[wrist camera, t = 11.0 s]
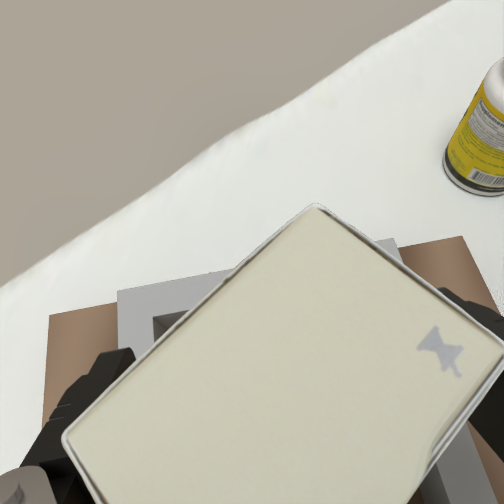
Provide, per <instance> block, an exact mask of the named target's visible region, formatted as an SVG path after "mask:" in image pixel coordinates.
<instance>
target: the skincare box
mask: <svg viewBox="0 0 504 504" xmlns="http://www.w3.org/2000/svg"><path fill="white" fill-rule="evenodd" d="M503 370H504V341H503V340H501V339H500V338H499V337H498V336H496V335H495V334H494V333H493V332H491V331H490V330H488V329H487V328H485V327H484V326H483V325H481V324H480V323H479V322H477V321H476V320H475V319H474V318H473V317H471V316H470V315H469V314H468V313H467V312H465V311H464V310H463V309H462V308H460V307H459V306H458V305H456V304H455V303H453V302H452V301H451V300H449V299H448V298H447V297H446V296H444V295H443V294H442V293H441V292H439V291H438V290H437V289H436V288H435V287H433V286H432V285H431V284H429V283H428V282H427V281H425V280H424V279H423V278H421V277H420V276H418V275H417V274H416V273H414V272H413V271H412V270H411V269H409V268H408V267H407V266H405V265H404V264H403V263H402V262H400V261H399V260H398V259H397V258H395V257H394V256H393V255H391V254H390V253H389V252H387V251H386V250H385V249H383V248H382V247H381V246H379V245H378V244H377V243H375V242H374V241H372V240H371V239H370V238H369V237H367V236H366V235H364V234H363V233H361V232H360V231H358V230H357V229H356V228H355V227H353V226H352V225H350V224H348V223H347V222H345V221H343V220H342V219H340V218H339V217H338V216H336V215H335V214H334V213H332V212H331V211H330V210H328V209H327V208H326V207H324V206H322V205H321V204H319V203H313V204H311V205H309V206H307V207H306V208H305V209H303V210H302V211H301V212H300V213H299V214H298V215H296V216H295V217H294V218H292V219H291V220H290V221H288V222H287V223H286V224H285V225H284V226H283V227H281V228H280V229H279V230H278V231H277V232H275V233H274V234H273V235H272V236H270V237H269V238H268V239H267V240H266V241H265V242H264V243H263V244H261V245H260V246H259V247H258V248H256V249H255V250H254V251H253V252H252V253H251V254H250V255H249V256H248V257H246V258H245V259H244V260H243V261H242V262H240V263H239V264H238V265H237V266H236V267H235V268H234V269H233V270H232V271H231V272H230V273H229V274H227V275H226V276H225V277H224V278H223V279H222V280H221V281H220V282H219V283H218V284H217V285H216V286H215V287H214V288H212V289H211V290H210V291H209V292H208V293H207V294H206V295H205V296H204V297H203V298H202V299H201V300H199V301H198V302H197V303H196V304H195V305H194V306H193V307H192V308H191V309H190V310H189V311H188V312H186V313H185V314H184V315H183V316H182V317H181V318H180V319H179V320H178V321H177V322H176V323H175V324H174V325H173V326H171V327H170V328H169V329H168V330H167V331H166V332H165V333H164V334H163V335H162V336H161V337H160V338H159V339H158V340H157V341H156V342H155V343H154V344H153V345H152V346H151V347H149V348H148V349H147V350H146V351H145V352H144V353H143V354H142V355H141V356H140V357H139V358H138V359H137V360H136V361H135V362H134V363H133V364H132V365H131V366H130V367H129V368H128V369H127V370H126V371H125V372H124V373H123V374H122V375H121V376H120V377H119V378H118V379H117V380H116V381H114V382H113V383H112V384H111V385H110V386H109V387H108V388H107V389H106V390H105V391H104V392H103V393H102V394H101V395H100V396H99V397H98V398H97V399H96V400H95V401H94V402H93V403H92V404H91V405H90V406H89V407H88V408H87V409H86V410H85V411H84V412H83V413H82V414H81V415H80V416H79V417H78V418H77V419H76V420H75V421H74V422H73V423H72V424H71V425H70V426H68V427H67V428H66V429H65V430H64V432H63V434H62V436H61V442H62V445H63V448H64V449H65V451H66V452H67V454H68V456H69V457H70V459H71V460H72V462H73V463H74V465H75V467H76V468H77V470H78V471H79V473H80V475H81V476H82V478H83V480H84V482H85V485H86V487H87V488H88V490H89V492H90V494H91V495H92V497H93V499H94V501H95V503H96V504H407V503H408V501H409V500H410V498H411V497H412V496H413V494H414V493H415V491H416V490H417V488H418V487H419V486H420V484H421V483H422V481H423V480H424V479H425V477H426V476H427V474H428V473H429V471H430V470H431V469H432V467H433V466H434V464H435V463H436V461H437V460H438V459H439V457H440V456H441V455H442V453H443V452H444V451H445V449H446V448H447V447H448V445H449V444H450V443H451V441H452V440H453V439H454V438H455V436H456V435H457V434H458V432H459V431H460V429H461V428H462V427H463V425H464V424H465V422H466V421H467V419H468V418H469V417H470V415H471V414H472V413H473V411H474V410H475V409H476V407H477V406H478V405H479V403H480V402H481V401H482V400H483V398H484V397H485V395H486V394H487V392H488V391H489V389H490V388H491V386H492V385H493V384H494V382H495V381H496V380H497V378H498V377H499V375H500V374H501V373H502V371H503Z"/></svg>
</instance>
